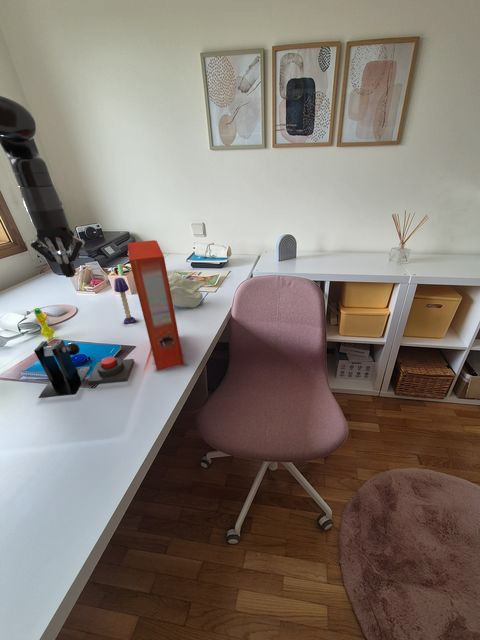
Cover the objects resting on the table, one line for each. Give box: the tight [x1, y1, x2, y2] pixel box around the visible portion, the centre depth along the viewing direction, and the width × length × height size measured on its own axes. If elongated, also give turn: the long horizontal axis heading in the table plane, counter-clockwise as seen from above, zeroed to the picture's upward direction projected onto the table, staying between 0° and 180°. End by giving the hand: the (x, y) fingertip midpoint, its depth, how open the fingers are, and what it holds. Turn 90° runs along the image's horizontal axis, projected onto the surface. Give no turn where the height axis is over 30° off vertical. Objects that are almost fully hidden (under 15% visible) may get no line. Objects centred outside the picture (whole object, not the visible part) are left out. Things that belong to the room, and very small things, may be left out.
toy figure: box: [33, 307, 55, 340], centre depth 99 cm, size 7×4×12 cm, turn 26°
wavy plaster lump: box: [168, 275, 206, 309], centre depth 119 cm, size 18×13×16 cm
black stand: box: [33, 339, 92, 399], centre depth 79 cm, size 12×9×13 cm
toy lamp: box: [113, 277, 137, 325], centre depth 108 cm, size 5×5×17 cm
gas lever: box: [43, 342, 81, 357], centre depth 81 cm, size 13×4×4 cm, turn 8°
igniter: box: [100, 356, 117, 369], centre depth 83 cm, size 4×4×2 cm
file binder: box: [127, 239, 185, 371], centre depth 86 cm, size 8×17×32 cm, turn 22°
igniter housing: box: [86, 357, 135, 386], centre depth 84 cm, size 10×9×4 cm
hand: (70, 276), depth 82 cm, fingers closed
